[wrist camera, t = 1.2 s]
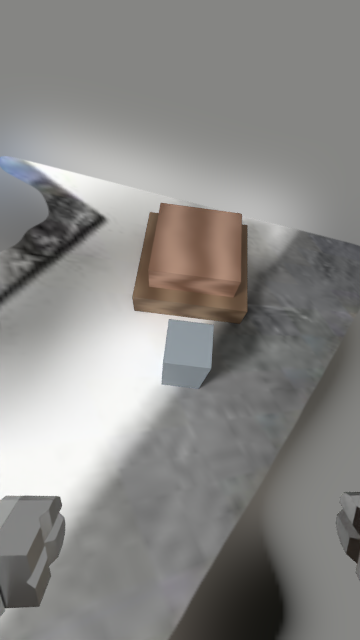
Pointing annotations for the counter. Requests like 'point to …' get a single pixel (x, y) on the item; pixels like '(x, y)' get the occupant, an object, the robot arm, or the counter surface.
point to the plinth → (185, 298)
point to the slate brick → (187, 353)
